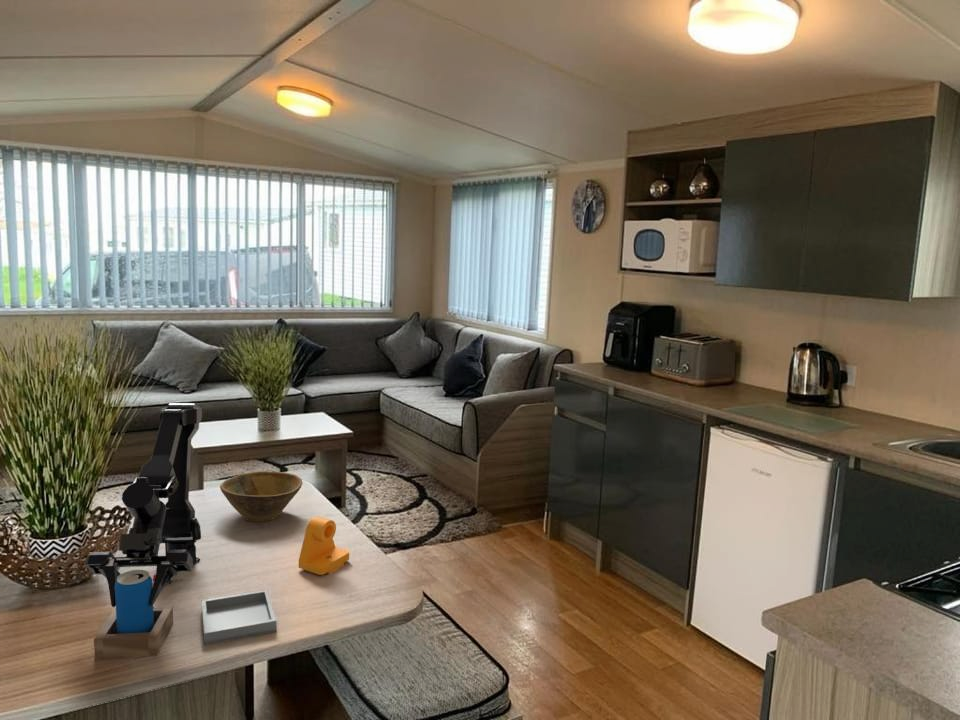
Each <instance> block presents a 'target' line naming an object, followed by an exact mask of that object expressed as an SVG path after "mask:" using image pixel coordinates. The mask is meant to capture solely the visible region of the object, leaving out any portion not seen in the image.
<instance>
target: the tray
mask: <svg viewBox="0 0 960 720" xmlns="http://www.w3.org/2000/svg"><path fill="white" fill-rule="evenodd" d="M200 602H201V617H202V628H203V629H202V630H203V640H204V642H203V643H204V646H207V645H208V646H209V645H212V644H218V643H224V642H229V641H235V640H240V639H244V638H245V639H246V638H251V637H256V636H263V635H267V634H273V633H277V618H276V615H275V614H276V613H275V610H274V606H273V603H272V600H271V597H270V591H269V590H268V589H263V590H256V591H252V592H251V591H250V592H245V593H238V594H233V595H232V594H231V595H224V596H220V597H218V596H217V597H213V598H206V599H202V600H201V601H200Z"/></svg>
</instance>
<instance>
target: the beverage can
mask: <svg viewBox="0 0 960 720" xmlns="http://www.w3.org/2000/svg"><path fill="white" fill-rule="evenodd" d="M120 574H121V575H119V576H118V577H117V582H116V583H115V602H116V606H115V609H116V621H117V634H126V633H147V632H151V631H152V629H153V627H154V614H153V607H154V604H153V605H152V606H150V604H149V602H150V596H151V592H152V578H151V577H150V576H149V572H148V571H147V570H145V569H132V570H129V571H124V572H123V573H120Z"/></svg>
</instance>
